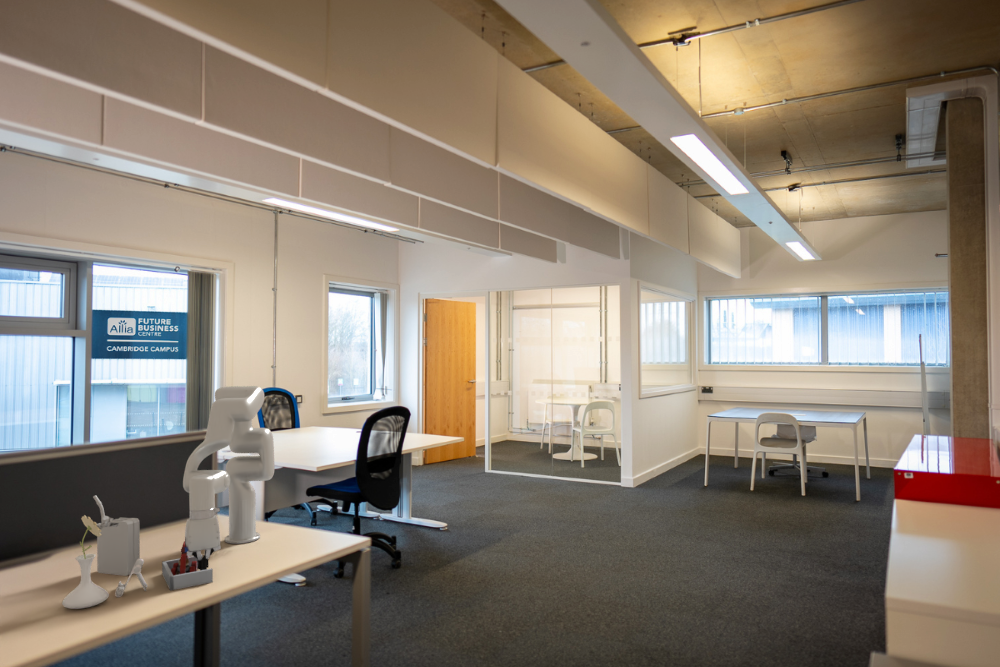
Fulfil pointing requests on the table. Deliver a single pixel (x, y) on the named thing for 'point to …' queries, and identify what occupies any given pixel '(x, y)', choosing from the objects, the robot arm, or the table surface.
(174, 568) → the toy fire truck
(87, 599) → the flower in vase
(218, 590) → the table surface
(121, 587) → the portable electronic device stand
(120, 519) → the fuel canister
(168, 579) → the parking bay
